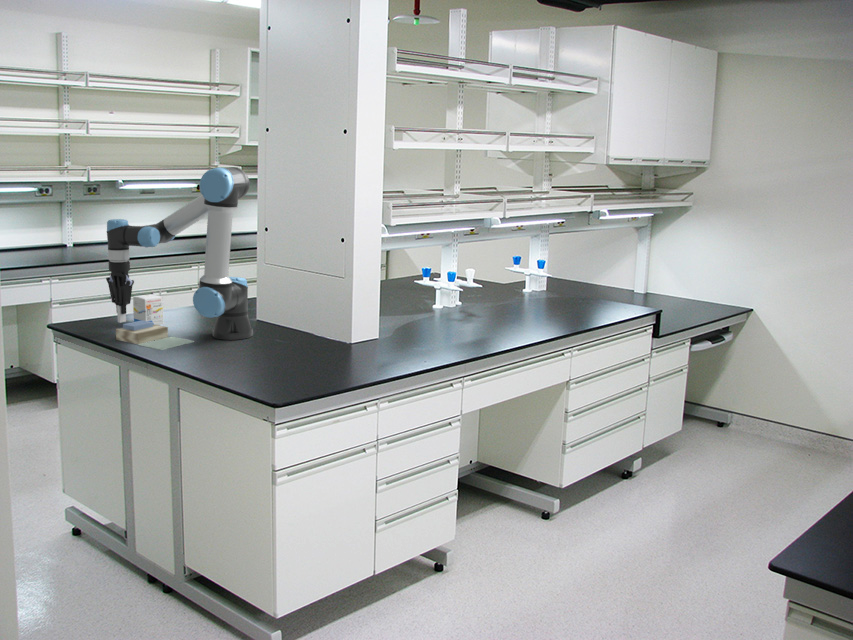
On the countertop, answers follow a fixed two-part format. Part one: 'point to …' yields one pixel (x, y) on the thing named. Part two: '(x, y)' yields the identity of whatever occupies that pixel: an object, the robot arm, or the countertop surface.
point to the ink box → (148, 308)
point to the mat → (166, 343)
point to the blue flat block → (137, 325)
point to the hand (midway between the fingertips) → (121, 321)
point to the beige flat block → (142, 334)
